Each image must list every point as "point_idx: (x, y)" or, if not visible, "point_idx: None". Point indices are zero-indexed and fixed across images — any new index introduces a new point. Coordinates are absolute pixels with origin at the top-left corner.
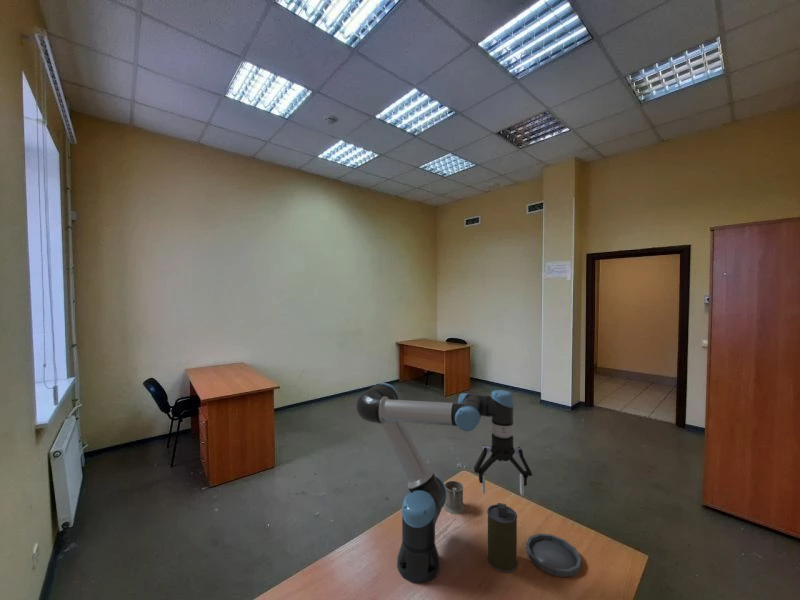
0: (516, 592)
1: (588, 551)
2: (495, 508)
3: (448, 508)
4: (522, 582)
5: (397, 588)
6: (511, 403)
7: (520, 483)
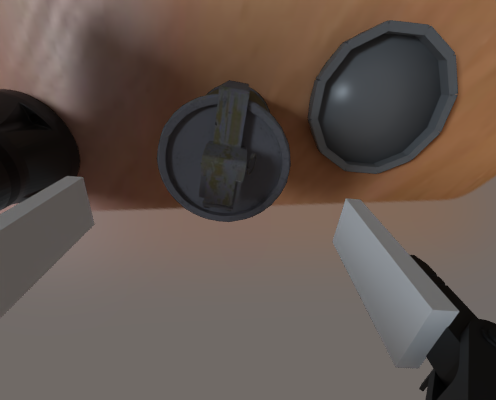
0: None
1: (491, 79)
2: (202, 120)
3: None
4: None
5: None
6: None
7: (371, 261)
